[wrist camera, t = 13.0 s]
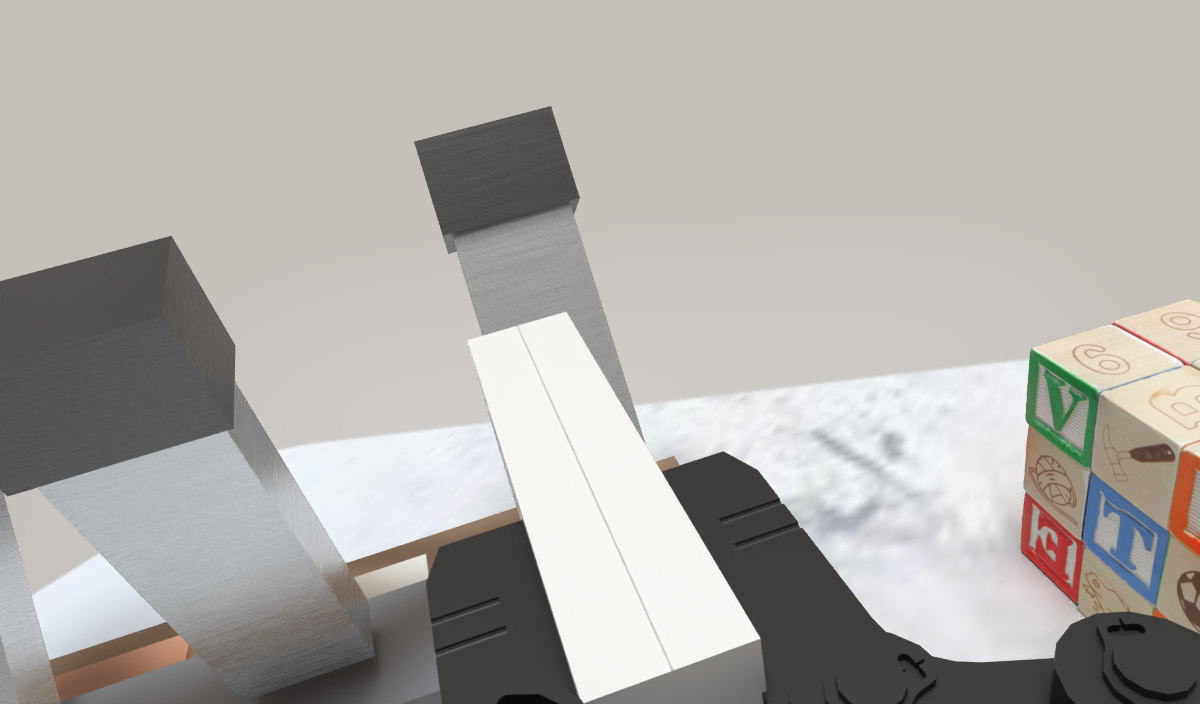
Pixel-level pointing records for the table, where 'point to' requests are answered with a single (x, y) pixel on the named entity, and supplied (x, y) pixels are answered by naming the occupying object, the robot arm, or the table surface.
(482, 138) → the lever
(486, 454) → the table surface
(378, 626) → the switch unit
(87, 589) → the table surface
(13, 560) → the lever
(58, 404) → the lever middle
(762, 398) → the table surface
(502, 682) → the robot arm
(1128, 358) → the stack of blocks
